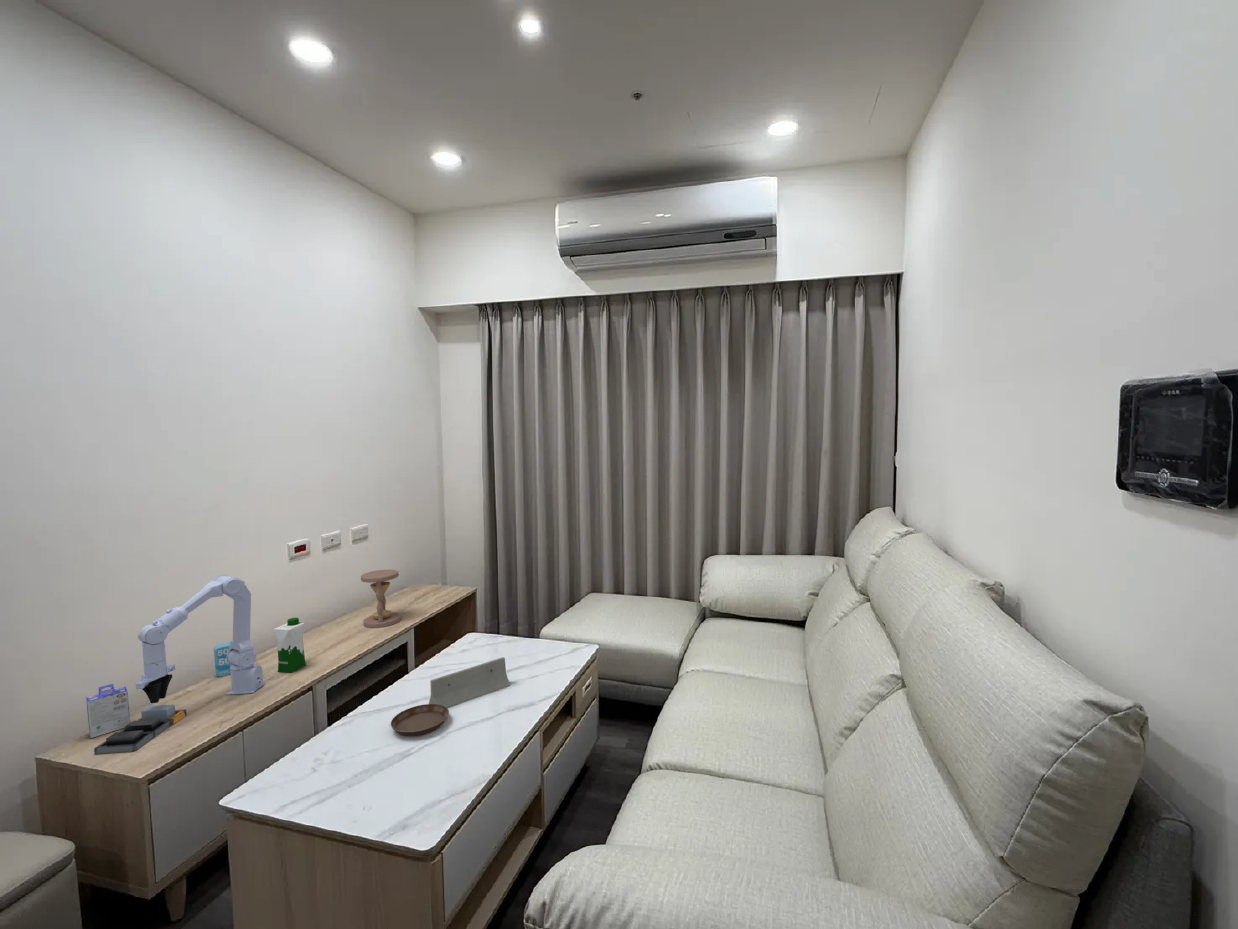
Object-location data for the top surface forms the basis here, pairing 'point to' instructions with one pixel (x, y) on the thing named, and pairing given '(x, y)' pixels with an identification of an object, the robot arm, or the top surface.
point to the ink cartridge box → (108, 710)
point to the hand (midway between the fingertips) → (158, 700)
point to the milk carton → (290, 646)
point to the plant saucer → (420, 720)
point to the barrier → (469, 683)
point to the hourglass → (380, 598)
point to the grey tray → (137, 734)
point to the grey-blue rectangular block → (158, 712)
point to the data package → (222, 659)
